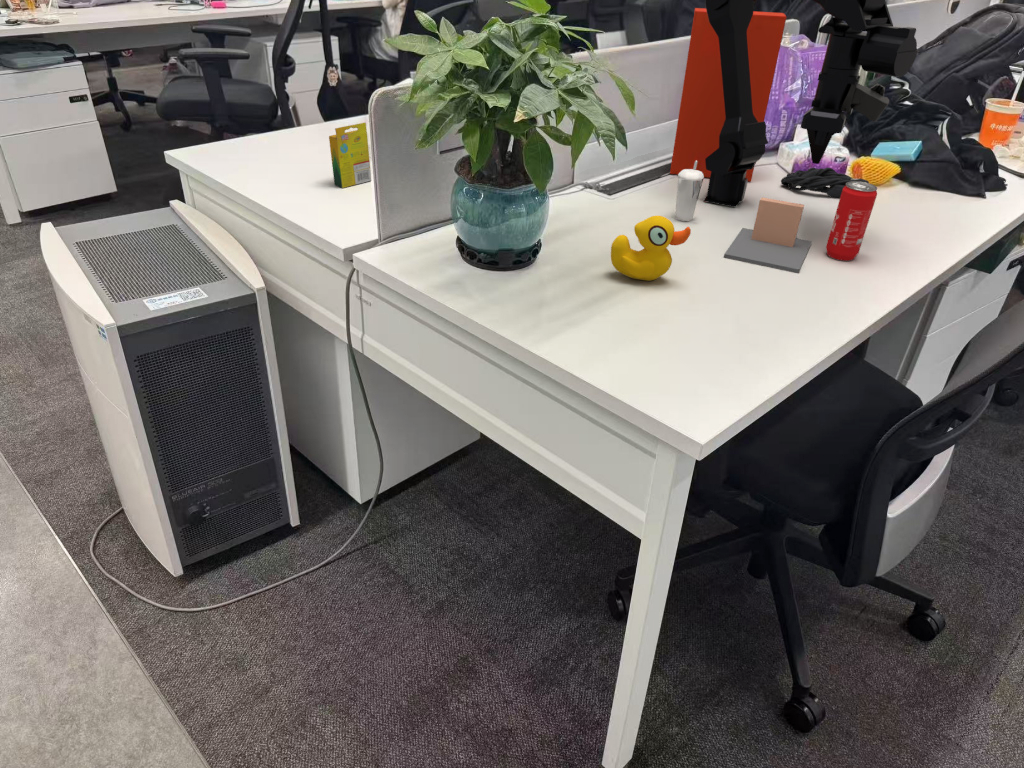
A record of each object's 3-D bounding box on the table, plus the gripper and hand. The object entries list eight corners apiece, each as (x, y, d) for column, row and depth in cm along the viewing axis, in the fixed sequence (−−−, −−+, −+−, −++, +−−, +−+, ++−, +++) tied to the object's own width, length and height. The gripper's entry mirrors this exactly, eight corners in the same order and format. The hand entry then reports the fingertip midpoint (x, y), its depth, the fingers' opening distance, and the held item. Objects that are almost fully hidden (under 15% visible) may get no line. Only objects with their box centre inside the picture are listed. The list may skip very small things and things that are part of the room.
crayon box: (363, 177, 149) (358, 119, 142) (372, 181, 147) (367, 122, 140) (333, 185, 144) (327, 125, 138) (341, 188, 142) (335, 128, 136)
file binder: (671, 164, 164) (695, 7, 146) (748, 172, 161) (783, 12, 143) (669, 174, 157) (694, 11, 140) (750, 182, 154) (786, 16, 137)
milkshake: (699, 215, 136) (709, 162, 130) (692, 224, 132) (702, 170, 126) (675, 211, 137) (684, 158, 132) (668, 220, 133) (677, 166, 128)
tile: (751, 238, 125) (760, 199, 121) (752, 236, 126) (761, 197, 122) (792, 247, 122) (803, 207, 119) (794, 244, 124) (804, 204, 120)
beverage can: (841, 263, 119) (863, 192, 112) (817, 252, 122) (837, 183, 116) (863, 258, 121) (886, 188, 114) (838, 247, 124) (859, 179, 118)
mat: (723, 257, 119) (724, 253, 119) (741, 230, 130) (742, 227, 129) (798, 273, 115) (799, 269, 115) (810, 244, 125) (811, 241, 125)
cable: (785, 197, 148) (790, 176, 145) (772, 177, 159) (776, 157, 157) (871, 203, 147) (877, 181, 144) (851, 182, 158) (857, 162, 156)
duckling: (681, 275, 113) (692, 214, 107) (681, 290, 108) (692, 226, 103) (609, 267, 114) (616, 206, 109) (606, 281, 110) (613, 218, 105)
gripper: (891, 81, 107) (860, 185, 115) (897, 64, 121) (869, 157, 129) (813, 73, 111) (788, 173, 119) (828, 57, 125) (805, 148, 133)
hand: (815, 163), depth 125 cm, fingers closed
